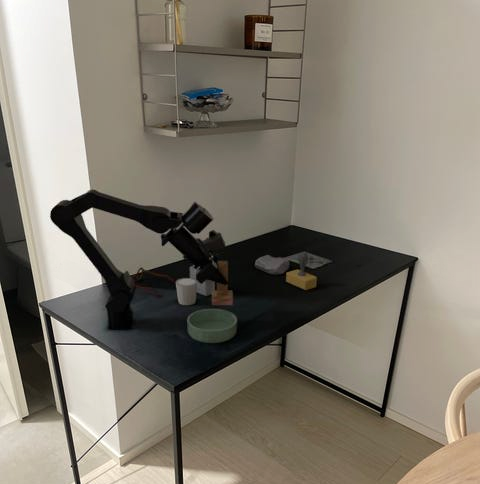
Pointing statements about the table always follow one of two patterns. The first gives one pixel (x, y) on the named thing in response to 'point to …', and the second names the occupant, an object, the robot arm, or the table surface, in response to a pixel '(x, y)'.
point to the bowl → (212, 325)
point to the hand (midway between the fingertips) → (227, 281)
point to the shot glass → (186, 291)
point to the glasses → (150, 273)
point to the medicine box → (205, 286)
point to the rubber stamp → (301, 275)
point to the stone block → (272, 264)
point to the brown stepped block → (222, 288)
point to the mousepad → (310, 260)
